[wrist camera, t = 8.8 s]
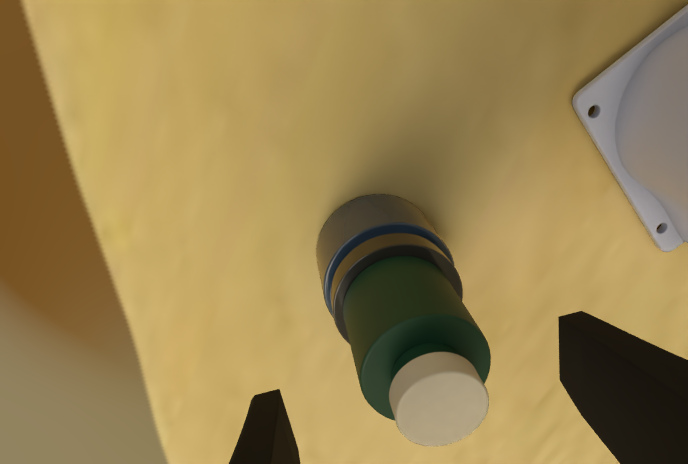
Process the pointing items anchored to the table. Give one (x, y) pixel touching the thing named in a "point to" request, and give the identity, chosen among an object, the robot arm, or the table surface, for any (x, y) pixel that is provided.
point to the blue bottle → (375, 245)
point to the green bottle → (417, 350)
